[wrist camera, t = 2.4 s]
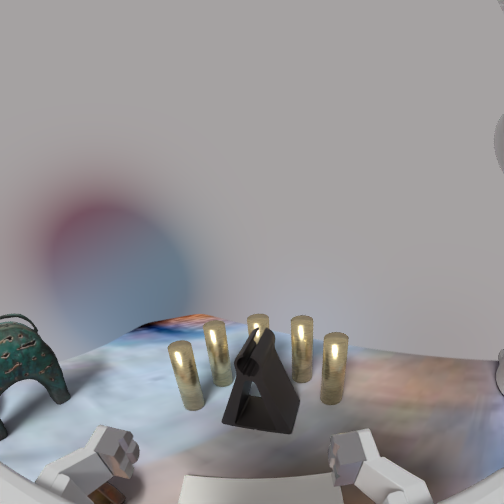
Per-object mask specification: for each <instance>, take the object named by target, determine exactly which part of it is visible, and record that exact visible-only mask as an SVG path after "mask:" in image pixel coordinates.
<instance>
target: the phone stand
mask: <svg viewBox="0 0 504 504" xmlns="http://www.w3.org/2000/svg"><path fill="white" fill-rule="evenodd" d="M258 330H259V327H257V328H255V329H254V330H253V331H252V332H251V334H250V336H249V337H248V339H247V341H246V342H245V344H244V346H243V347H242V349H241V351H240V352H239V354H238V355H237V357H236V359H235V361H234V366H235V369H236V380H235V383H234V386H233V389H232V392H231V395H230V398H229V401H228V404H227V407H226V410H225V413H224V416H223V419H222V423H223V424H227V425H232V426H237V427H242V428H248V429H257V430H261V431H267V432H275V433H283V434H291V432H292V428H293V425H294V421H295V417H296V413H297V410H298V406H299V402H300V400H299V398H298V396H297V394H296V392H295V390H294V388H293V386H292V384H291V382H290V380H289V378H288V376H287V373H286V371H285V369H284V367H283V365H282V363H281V361H280V359H279V357H278V355H277V352H276V350H275V335H274V333H273V332H272V331H271V330H270V329H268V328H265V330H264V332H263V334H262V336H261V338H260V340H259V342H258V343H257V344H256V342H255V341H254V337H255V336H256V334H257V332H258ZM252 381H253V382H254V383H255V384H256V385H257V388H258V390H259V392H260V394H261V397H256V396H250V395H249V392H250V388H251V384H252Z"/></svg>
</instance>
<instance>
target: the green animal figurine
mask: <svg viewBox="0 0 504 504" xmlns="http://www.w3.org/2000/svg"><path fill="white" fill-rule="evenodd" d="M11 317H19V318H22V319H24V320H27V321H28V322H30V323H31V324H32V326H33V327H34V330H32V329H31V328H29V327H27V326H26V325H24V324H21V323H17V322H3V323H0V396H1V394H2V393H3V392H4V391H5V390H6V389H7V388H9V387H10V386H11V385H13V384H14V383H16V382H18V381H21V380H25V379H33V380H37V381H38V382H39V383H41V384H42V385H43V386H44V387H45V388H46V389H47V391H48V393H49V395H50V397H51V398H52V399H53V400H54V401H55V402H56V403H57V404H62V403H64V402H66V401H67V400H68V399H69V398H70V394H69V392H68V389H67V386H66V383H65V380H64V377H63V373H62V370H61V368H60V366H59V363H58V361H57V358H56V356H55V354H54V352H53V351H52V349H51V348H50V347H49V346H48V345H47V344H46V343H45V342H44V341H43V340H42V339H41V337H40V336H39V335H38V333H37V332H38V330H37V328H36V327H35V325H34V324H33V323H32V322H31V320H29V319H28V318H27V317H25V316H23V315H21V314H7V315H3V316H0V319H4V318H11ZM6 437H7V430H6V428H5V427H4V424H3V422H2V421H1V419H0V441H1V440H2V439H4V438H6Z"/></svg>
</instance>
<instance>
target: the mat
mask: <svg viewBox="0 0 504 504" xmlns="http://www.w3.org/2000/svg"><path fill="white" fill-rule="evenodd" d="M331 473H332V472H330V473H323V474H315V475H307V476H297V477H284V478H262V479H234V478H212V477H200V476H190V475H185V477H184V481H183V485H182V489H181V493H180V497H179V501H178V504H344V502H343V497H342V492H341V487H340V486H336V487H334V486H333V481H332V476H331Z"/></svg>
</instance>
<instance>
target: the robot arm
mask: <svg viewBox="0 0 504 504" xmlns="http://www.w3.org/2000/svg"><path fill="white" fill-rule="evenodd" d="M498 2H499V4H504V0H498ZM501 8H502V11H503V13H504V6H501ZM494 146H495V153H496V157H497V160H498V163H499V165H500V168H501V169H502V171H503V173H504V115H502V116H501V118H500V119H499V121H498V123H497V126H496V130H495V135H494ZM498 359H499V367H498V369H497V372H496V381H497V385H498V387H499V389H500V391H501V392H502V393H503V395H504V349H503V350H501V351H500V353H499V355H498ZM132 438H133V435H132V433H131V432H130V431H125V430H120V429H116V428H112V427H108V426H104V425H99V426H97V428H96V429H95V431H94V432H93V434H92V436H91V437H90V439H89V441H88V442H87V444H86V446H85V447H84V448H80V449H78V450H76V451H74V452H72V453H70V454H68V455H66V456H64V457H62V458H60V459H58V460H56V461H54V462H52V463H50V464H47V465H45V467H44V469H43V470H42V472H41V473H40V475H39V476H38V478H37V480H36V481H35V483H34V482H32V481H30V480H29V479H27V478H25V477H24V476H22V475H20V474H19V473H17V472H15V471H14V470H12V469H11V468H9V467H8V466H6V465H5V464H3V463H2V462H0V504H94V503H93V501H92V500H91V499H90V498H88V497H87V495H89V494H90V493H92V492H93V491H94V490H96V489H97V488H98V487H100V486H101V485H102V484H104V483H105V482H106V481H108V480H109V479H110V478H112V477H113V475H115V476H119V477H123V478H127V479H130V478H131V475H132V473H133V470H134V466H133V464H134V463H135V462H137V461H138V458H139V451H140V450H139V446H138V444H137V443H136V442H135V441H134V440H133V439H132ZM330 442H331V445H330V446H329V449H328V460H329V466H330V467H331V468H333V469H332V473H331V476H332V481H333V486H334V487H336V486H342V485H348V484H354V483H355V484H354V485H356V486H357V487H358V488H359V489H360V490H361V491H362V492H363V493H365V494H366V495H367V496H368V497H369V498H370V499H371V500H373V501H374V502H375V503H376V504H434V503H433V500H432V498H431V495H430V493H429V490H428V488H427V486H426V483H425V481H423V480H422V479H420V478H418V477H416V476H415V475H413V474H411V473H410V472H408V471H406V470H405V469H403V468H401V467H400V466H398V465H396V464H395V463H393V462H392V461H390V460H388V459H387V458H385V457H380V455H379V452H378V449H377V447H376V444H375V441H374V439H373V436H372V433H371V431H370V429H369V428H367V429H362V430H357V431H350V432H345V433H339V434H333V435H331V438H330ZM436 504H504V468H501V469H499V470H498V471H496V472H495V473H493V474H491V475H490V476H488V477H486V478H485V479H483V480H481V481H480V482H478V483H476V484H474V485H473V486H471V487H469V488H467V489H465V490H463V491H461V492H459V493H457V494H455V495H453V496H451V497H449V498H447V499H445V500H443V501H441V502H438V503H436Z"/></svg>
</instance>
